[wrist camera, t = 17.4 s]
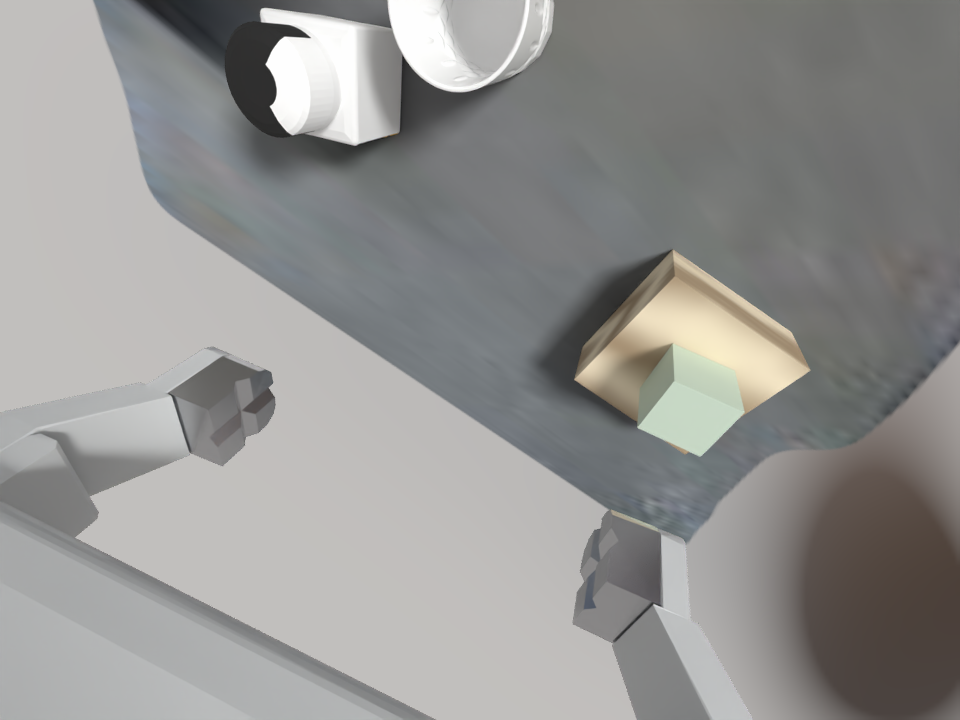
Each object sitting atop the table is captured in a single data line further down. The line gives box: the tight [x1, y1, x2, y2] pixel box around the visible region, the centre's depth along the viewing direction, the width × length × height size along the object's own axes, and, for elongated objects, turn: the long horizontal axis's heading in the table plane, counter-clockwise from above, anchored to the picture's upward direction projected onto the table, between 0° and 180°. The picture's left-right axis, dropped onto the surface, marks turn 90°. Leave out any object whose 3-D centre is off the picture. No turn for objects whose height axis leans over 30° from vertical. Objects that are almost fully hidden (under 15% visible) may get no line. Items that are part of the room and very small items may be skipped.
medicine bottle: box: [225, 8, 402, 146], centre depth 31 cm, size 7×7×12 cm
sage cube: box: [637, 344, 745, 457], centre depth 33 cm, size 5×5×5 cm
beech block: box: [574, 250, 810, 454], centre depth 37 cm, size 12×12×6 cm
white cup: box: [388, 0, 554, 92], centre depth 27 cm, size 8×8×10 cm
